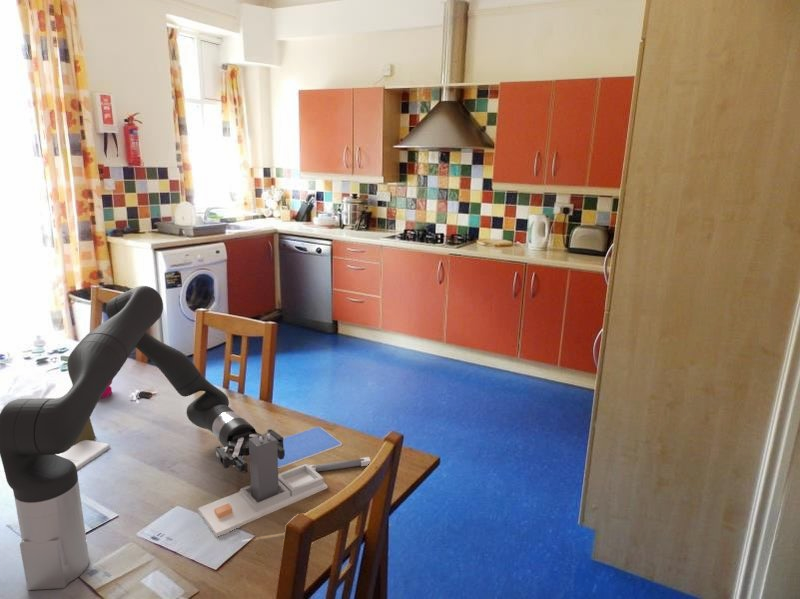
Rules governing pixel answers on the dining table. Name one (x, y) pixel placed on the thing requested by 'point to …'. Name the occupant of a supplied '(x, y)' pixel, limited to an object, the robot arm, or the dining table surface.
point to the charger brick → (263, 466)
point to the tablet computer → (307, 445)
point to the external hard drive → (84, 452)
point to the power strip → (246, 508)
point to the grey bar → (341, 464)
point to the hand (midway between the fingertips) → (264, 461)
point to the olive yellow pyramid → (86, 433)
